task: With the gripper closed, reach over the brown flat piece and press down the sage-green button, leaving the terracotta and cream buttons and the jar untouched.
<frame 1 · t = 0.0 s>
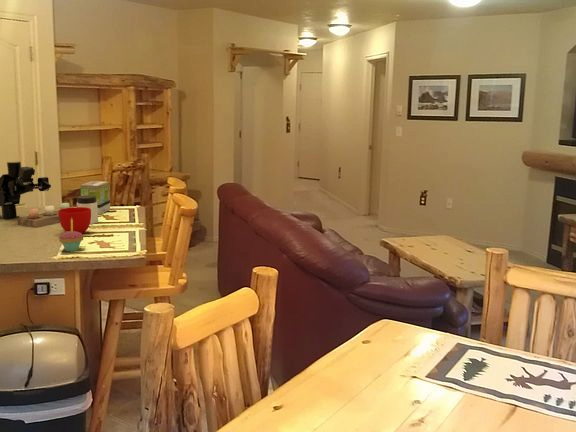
hand: (41, 187, 267), 17 cm above the kitchen counter, tool horizontal, fingers open, 9 cm apart
jar: (88, 223, 273), on the kitchen counter
terracotta button: (33, 213, 268), point 5 cm above the kitchen counter, slide at 0.0 cm
green button: (65, 207, 282), point 5 cm above the kitchen counter, slide at 0.0 cm
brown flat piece: (50, 221, 276), on the kitchen counter
tea box: (96, 212, 299), on the kitchen counter
cream button: (49, 210, 275), point 5 cm above the kitchen counter, slide at 0.0 cm
ceramic cup: (74, 233, 254), on the kitchen counter
cupcake: (72, 250, 225), on the kitchen counter
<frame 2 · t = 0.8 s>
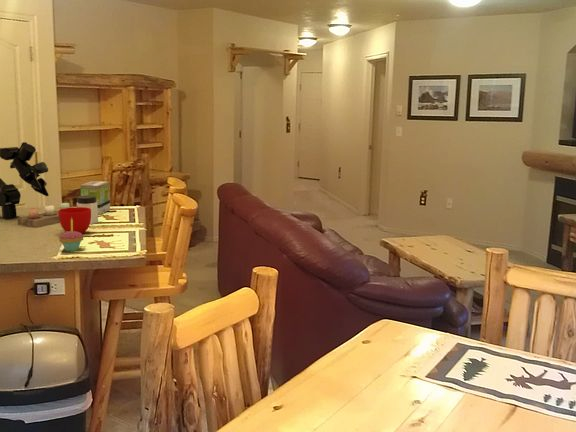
hand: (44, 192, 270), 14 cm above the kitchen counter, tool tilted 50°, fingers open, 9 cm apart
nothing on the kitchen counter moved.
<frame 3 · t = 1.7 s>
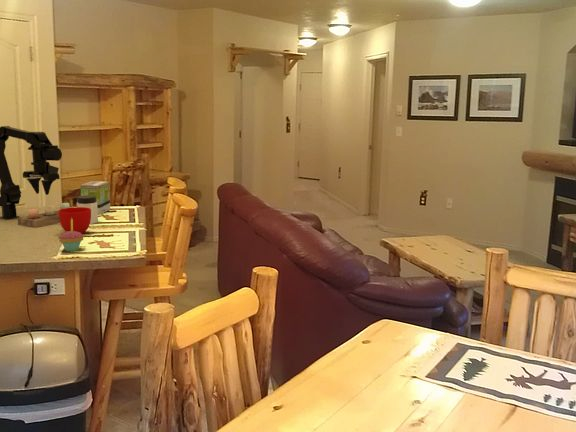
hand: (42, 194, 274), 13 cm above the kitchen counter, tool pointing down, fingers open, 6 cm apart
nothing on the kitchen counter moved.
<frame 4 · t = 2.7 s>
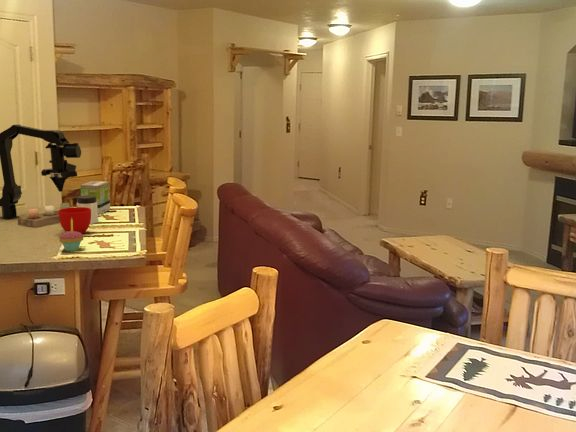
hand: (60, 191, 279), 13 cm above the kitchen counter, tool pointing down, fingers closed
nothing on the kitchen counter moved.
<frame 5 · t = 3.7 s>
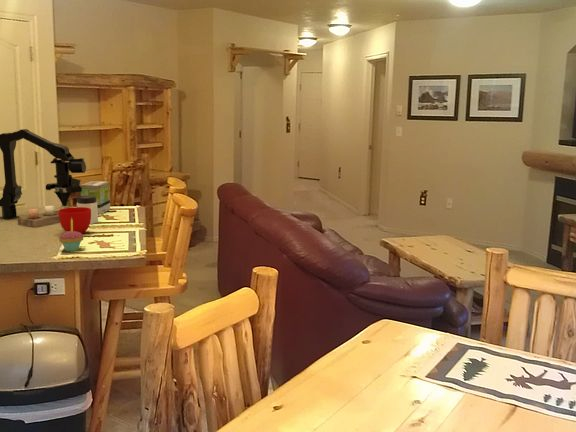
hand: (64, 205, 282), 6 cm above the kitchen counter, tool pointing down, fingers closed, pressing on green button
green button: (65, 210, 282), point 4 cm above the kitchen counter, slide at 1.1 cm, touching gripper
everything else where it was.
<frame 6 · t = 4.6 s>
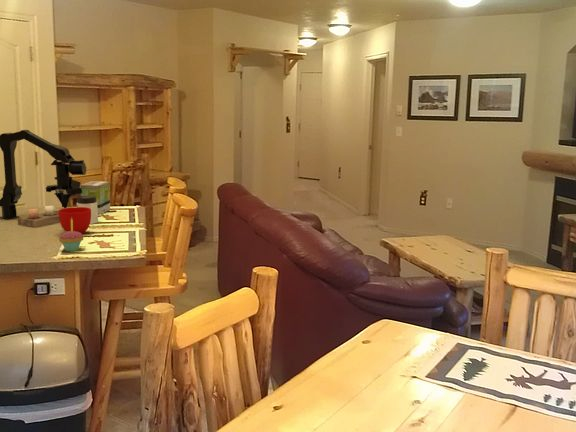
hand: (65, 207, 282), 5 cm above the kitchen counter, tool pointing down, fingers closed
green button: (65, 212, 283), point 3 cm above the kitchen counter, slide at 2.3 cm
everything else where it was.
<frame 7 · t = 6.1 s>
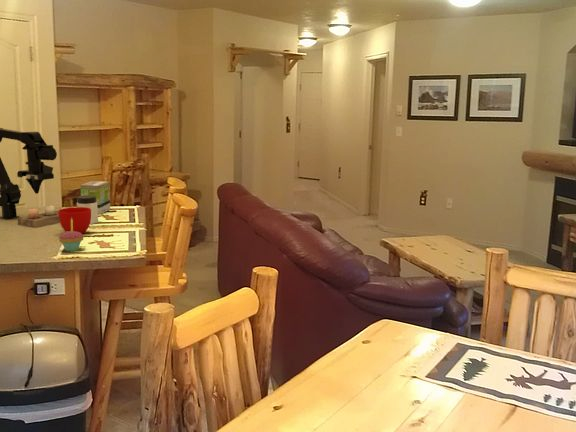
hand: (36, 193, 276), 12 cm above the kitchen counter, tool pointing down, fingers closed
nothing on the kitchen counter moved.
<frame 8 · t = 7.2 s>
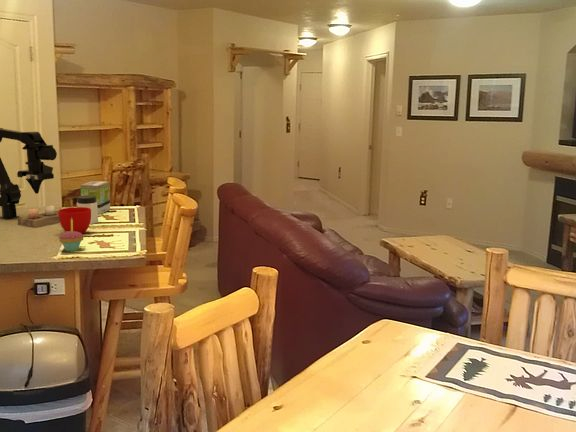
hand: (36, 193, 276), 13 cm above the kitchen counter, tool pointing down, fingers closed
nothing on the kitchen counter moved.
at the end: green button slide at 2.3 cm; cream button slide at 0.0 cm; terracotta button slide at 0.0 cm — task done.
